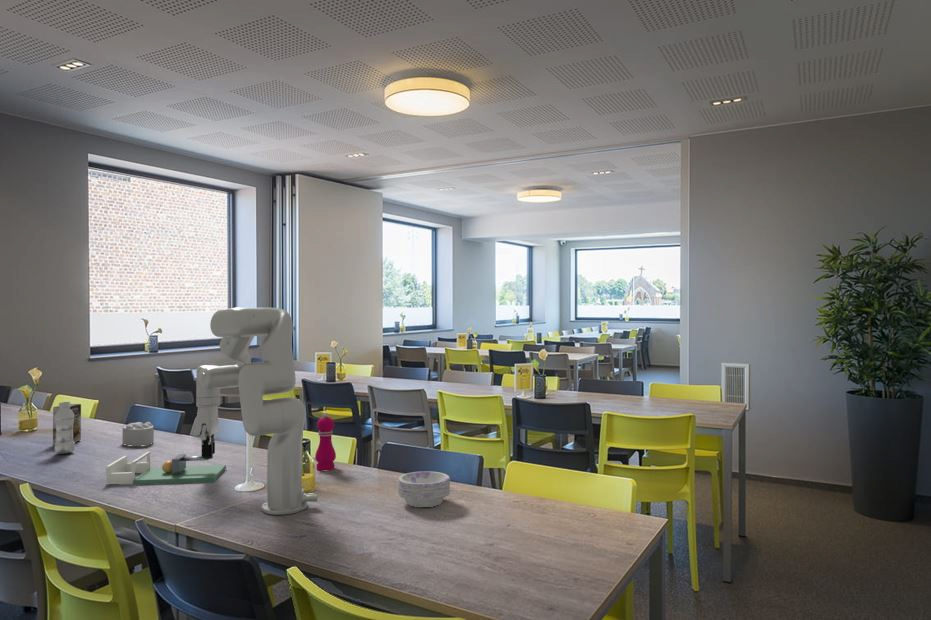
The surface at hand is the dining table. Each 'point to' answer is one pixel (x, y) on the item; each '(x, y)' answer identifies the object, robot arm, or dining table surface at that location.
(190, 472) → the pitch board
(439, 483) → the paper bowls
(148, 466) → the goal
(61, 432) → the plastic bottle
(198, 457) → the grey mallet
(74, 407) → the coffee box
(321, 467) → the pepper mill
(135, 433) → the lumpy-topped squat cylinder
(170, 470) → the ball
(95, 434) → the dining table surface
